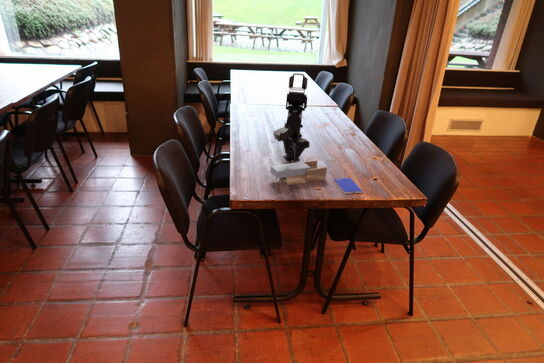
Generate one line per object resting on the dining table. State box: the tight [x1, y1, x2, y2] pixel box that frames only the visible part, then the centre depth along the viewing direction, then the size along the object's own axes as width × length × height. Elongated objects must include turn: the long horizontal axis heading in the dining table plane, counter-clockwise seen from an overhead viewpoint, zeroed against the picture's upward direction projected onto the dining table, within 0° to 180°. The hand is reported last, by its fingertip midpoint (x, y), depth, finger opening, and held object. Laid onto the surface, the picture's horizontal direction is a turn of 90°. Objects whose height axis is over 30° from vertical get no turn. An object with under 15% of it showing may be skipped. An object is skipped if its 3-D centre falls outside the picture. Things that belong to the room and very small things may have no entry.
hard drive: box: [333, 177, 364, 195], centre depth 159 cm, size 2×8×12 cm
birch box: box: [280, 159, 328, 186], centre depth 163 cm, size 9×19×6 cm, turn 115°
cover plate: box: [270, 161, 310, 179], centre depth 159 cm, size 6×16×3 cm, turn 115°
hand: (291, 156), depth 157 cm, fingers open, 8 cm apart
